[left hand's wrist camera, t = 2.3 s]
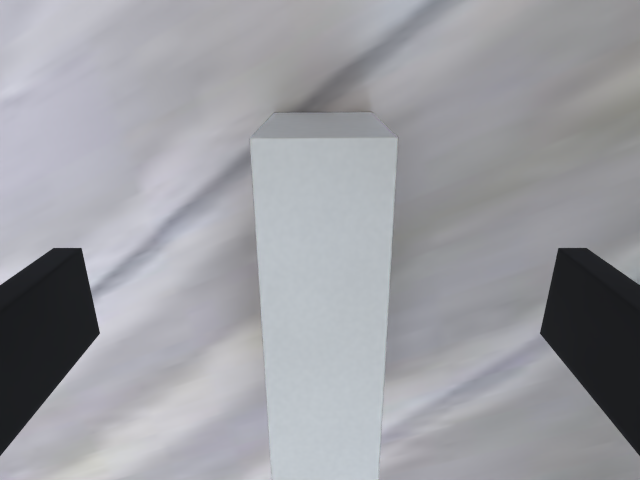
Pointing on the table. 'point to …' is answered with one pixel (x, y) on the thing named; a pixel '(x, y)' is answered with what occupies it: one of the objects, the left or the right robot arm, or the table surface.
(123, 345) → the table surface
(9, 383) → the left robot arm
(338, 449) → the box
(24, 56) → the table surface
